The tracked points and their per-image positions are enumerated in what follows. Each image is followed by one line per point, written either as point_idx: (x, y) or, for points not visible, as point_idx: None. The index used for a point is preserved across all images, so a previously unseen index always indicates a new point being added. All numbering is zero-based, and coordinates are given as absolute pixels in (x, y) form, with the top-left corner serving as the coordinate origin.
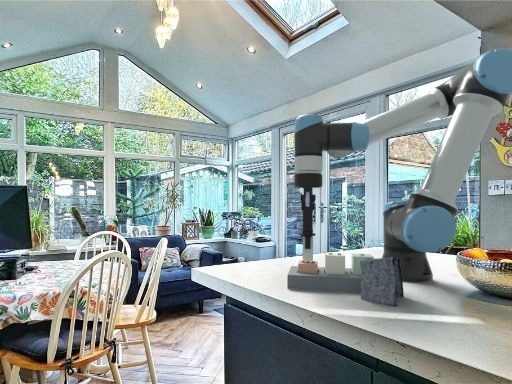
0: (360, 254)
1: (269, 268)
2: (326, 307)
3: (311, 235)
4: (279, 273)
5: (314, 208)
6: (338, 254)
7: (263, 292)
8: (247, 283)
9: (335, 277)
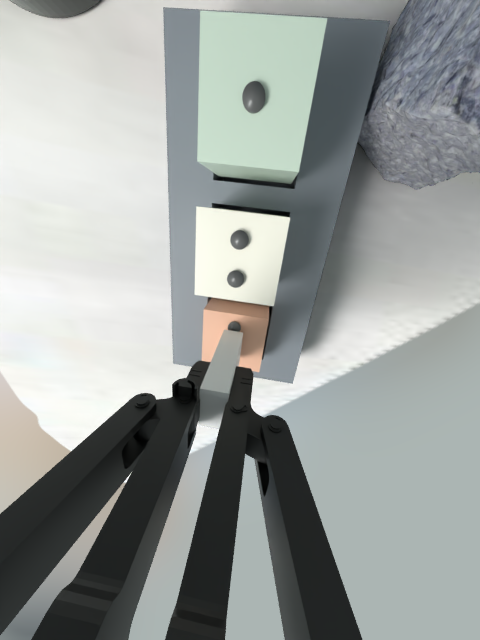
0: (256, 111)
1: (64, 374)
2: (419, 290)
3: (247, 410)
4: (109, 358)
5: (95, 635)
6: (248, 244)
7: (286, 397)
8: None
9: (325, 259)
